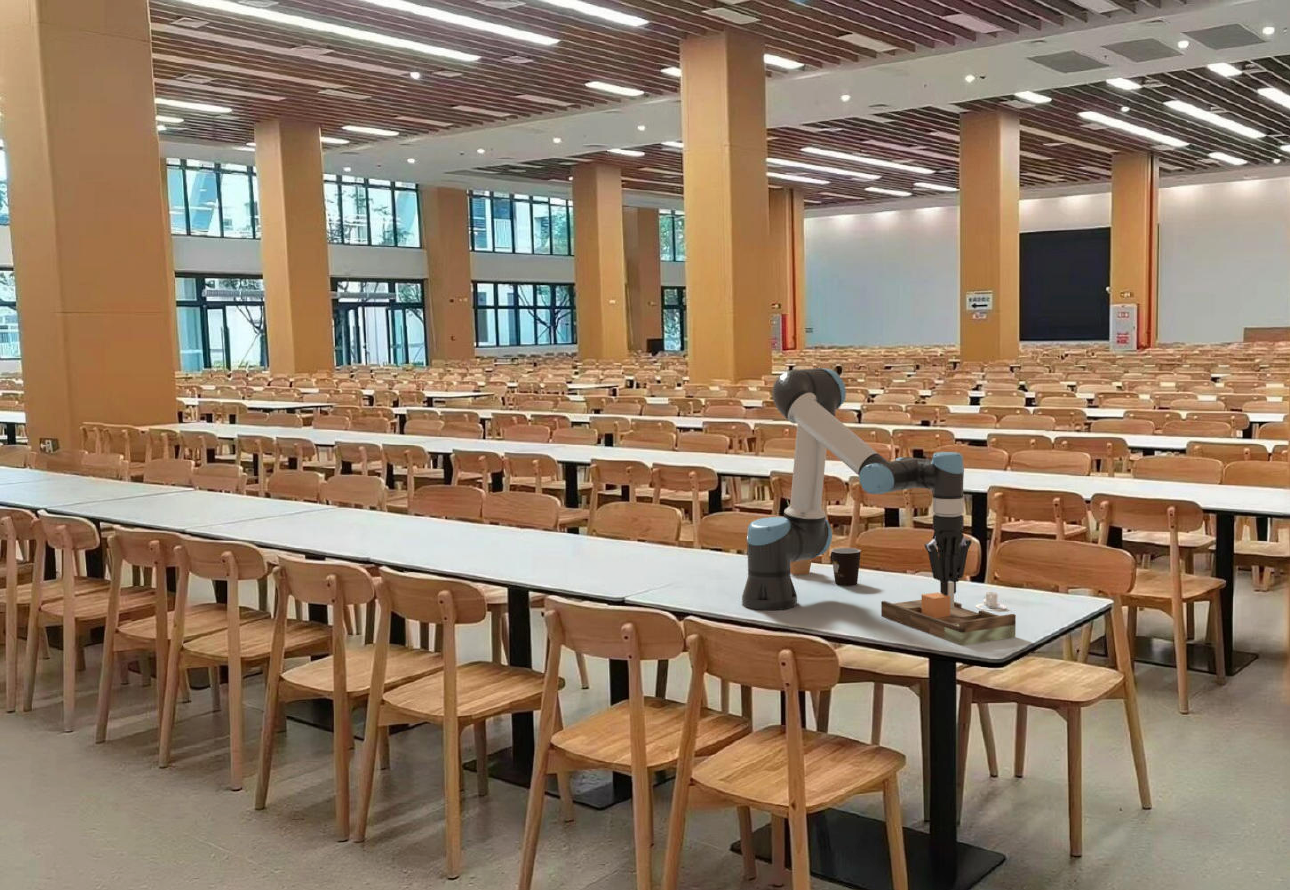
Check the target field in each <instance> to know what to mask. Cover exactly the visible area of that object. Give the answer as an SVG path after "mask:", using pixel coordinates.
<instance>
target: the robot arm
mask: <svg viewBox="0 0 1290 890" xmlns="http://www.w3.org/2000/svg"><path fill="white" fill-rule="evenodd" d="M846 391H847V390H846V384H845V383H844V381H843V379H842V378H841V377H840V375H839V374H838V373H837V372H836V371H835V370H832V369H830V368H821V367H815V368H805V369H791V370H787V371H786V372H784V373H781V374H780V375H779V376H778V378H777V379H776V380H775V381H774V384H773V386H772V391H771V394H772V401H773V404H774V406H775V407H776V409H777V411H778V412H779V413H780V414H781V416H783V417H784V418H785V419H786V420H787V421H789V422H790V423H791V424H793V425H794V424H795V425H796V424H797V425H796V427H797V428H796V436H795V437H796V439H795V445H794V447H795V449H794V456H793V457H794V459H793V470H792V481H791V483H792V484H791V493H790V502H789V504H790V506H789V507H786V508H784V511H783V516H769V517H762V518H758V519H755V520H753V521H751V522H750V523H749V524H748V527H747V536H746V544H747V579H746V582H745V585H744V589H743V592H742V596H741V604H742V606H744V607H745V608H748V609H752V610H753V609H754V610H762V611H763V610H766V611H769V610H770V611H771V610H772V611H773V610H775V611H776V610H785V609H790V608H794V607H796V606H797V605H798V594H797V591H796V589H795V586H794V583H793V580H792V576H791V573H790V563H791V562H795V561H800V560H806V559H812V560H813V559H815V558H817V557H819V556H822V555H824V554H825V553H827V551H828V549H829V548H830V546H831V543H832V541H833V531H832V527H831V526H830V522H829V521H828V520H827V518H826V513H825V511H824V510H823V509H822V501H823V490H824V480H825V479H824V478H825V470H826V469H825V468H826V459H827V458H826V457H827V450H829V451H830V452H831V453H832V454H833V455H834V456H835V457H836V458H838V459H839V460H840V461H841V462H842V463H844V464H845V465H846V466H847V467H848V468H849V469H850V470H852V471H853V472H854V473H855V474H856V475H857V476H858V480H859V484H860V486H861V488H862V489H863V491H864V492H865V493H867V494H871V495H876V494H877V495H878V494H879V495H883V494H886V493H887V494H888V493H891V492H896V491H903V490H909V489H925V490H926V489H927V490H932V512H933V515H932V529H933V535H932V540H930V541H929V542H926V543H924V548H925V550H926V551H927V553H928V558H929V563H930V564H929V565H930V567H931V573H932V577H933V579H934V580H937V581H939V582H940V591H939V593H941V594H943V595H947V596H950V608H954V602H955V594H956V593H957V583H958V582H959V581H960V579H962V578H964V573H965V568H966V562H967V557H968V551H969V548H970V546H971V545H972V540H971V539H968V538H966V537H965V536H964V533H963V529H964V527H965V523H964V522H965V521H964V515H963V513H964V510H965V509H964V508H965V506H964V505H965V504H964V503H965V502H964V499H965V498H964V478H965V477H964V476H965V475H964V472H965V468H964V457H963V455H962V454H961V453H960V452H955V451H939V452H938V451H937V452H934V453H933V454H932V458H931V459H928V458H927V459H926V458H918V457H911V456H907V457H903V456H902V457H901V456H900V457H897V458H895V460H891V461H889V460H887V459H886V458H885V457H883V456H882V455H881V454H880V453H878V452H877V451H876V450H875V449H873V447H871V446H870V445H869V444H868V443H866V442H865V441H864V440H863V439H861V438H860V437H859V436H858V435H857V434H856V433H854V431H852V430H851V429H850V428H849V427H848V426H846V425H845V424H844V423H843V422H842V421H840V420H839V419H838V418H837V417H836V410H838V409H839V408H841V406H842V405H843V404H844V403H845V400H846V394H847V392H846Z"/></svg>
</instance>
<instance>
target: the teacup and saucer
mask: <svg viewBox="0 0 1290 890" xmlns="http://www.w3.org/2000/svg"><path fill="white" fill-rule="evenodd" d="M998 596H999V594H998V593H997V592H993V591H990V592H985V597H984V598H983V600H982V601H983V603H978V604H976V605H975V608H977V609H979V610H982V611H992V609H994V611H1002V610H1005V609H1007V606H1006V605H1005V604H1001V603H998ZM981 606H986V607H987V608H982V607H981ZM997 606H999V607H1001V608H998V609H995V608H996V607H997Z"/></svg>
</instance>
